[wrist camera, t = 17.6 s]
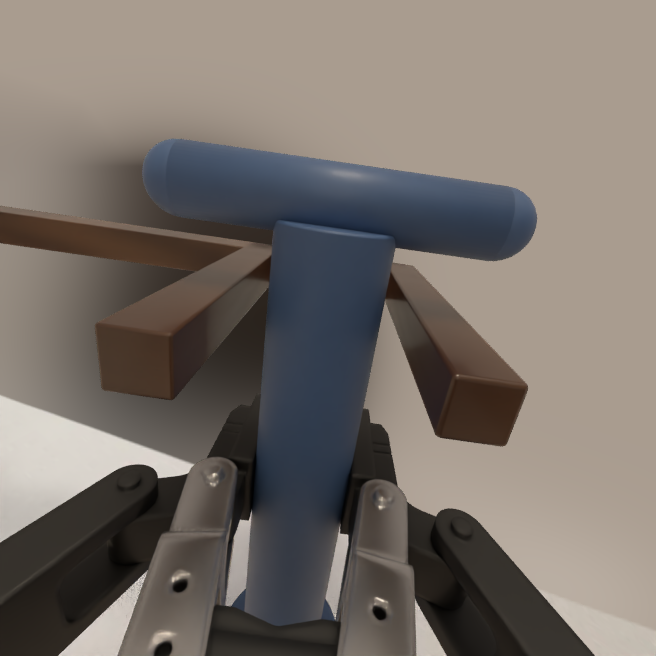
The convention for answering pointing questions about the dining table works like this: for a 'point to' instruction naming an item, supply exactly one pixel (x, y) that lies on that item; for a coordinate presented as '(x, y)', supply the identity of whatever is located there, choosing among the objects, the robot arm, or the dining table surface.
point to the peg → (322, 323)
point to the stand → (238, 297)
